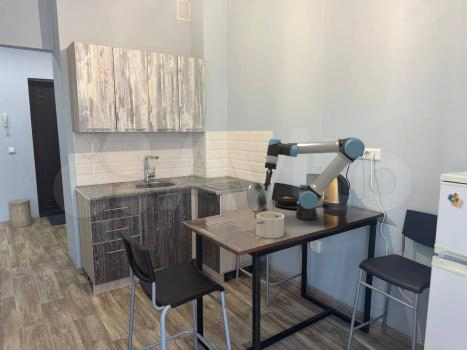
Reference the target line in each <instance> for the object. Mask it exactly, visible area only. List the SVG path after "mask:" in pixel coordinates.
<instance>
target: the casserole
mask: <svg viewBox="0 0 467 350" xmlns="http://www.w3.org/2000/svg"><path fill="white" fill-rule="evenodd" d="M276 200H277V201H273V202H272V203H273V204H274V205H275V206H277V207H280V208H282V209H287V210H289V209H294V210H295V209H296V210H297V209H298V204H299V196H296V195H293V194H280V195H278V196H277V198H276Z"/></svg>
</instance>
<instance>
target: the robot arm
mask: <svg viewBox="0 0 467 350" xmlns="http://www.w3.org/2000/svg"><path fill="white" fill-rule="evenodd" d="M365 149H366V145H365V144H364V142H363V141H362V139H359V138H357V137H347V138H342V139H341V138H340V139H337V140H331V141H329V140H328V141H311V142H293V143H292V142H287V143H284V142H283V143H282V141H281V139H277V138H270V139H269V141H268V145H267V152H266V156H265V157H264V158H265V161H266V162H265V163H264V169H267V171H266V172H265V173H266V174H265V180H264V183H263V188H264V192H265V196H267V197H268V195H269V194H270V189H271V188H270V187H271V186H272V183H271V181H272V177H273V173H274V172H273V170H277V166H278V161H279V155H280V156H286V157H292V158H297V157H298V155H305V154H306V155H307V154H310V155H311V154H331V153H332V154H333V153H334V154H337V155H336V156H335V157H334V158H333V160H332V161H331V162H330V163H329V164H328V165H327V167H326V168H325V169H324V170H323V171H322V172H321V173H319V174H320V176H319V177H318V178H317V179H316V180H315V181H314V182H313V183H312V184H308V185H306V184H300V185H299V187H298V199H299V200H298V203H297V204H298V208H297V209H296V212H295V218H296V219H298V220H302V221H316V220H318V218H319V214H318V211H317V208H316V205H317V203H318V201H319V200H320V199H321V198H322V199H323V196H324V192H325V190H326V189H328V188H329V187H330V186H331V184H332V183H333V182H334V180H336V178H338V176H339V175H340V174H341V173H342V172H343V171H344V170H345V169H346V167H348V166H349V164H353V163H354V162H355V161H356V160H357V159H358V158H360V157H361V156H362V155H363V154H364V153H365Z"/></svg>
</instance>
